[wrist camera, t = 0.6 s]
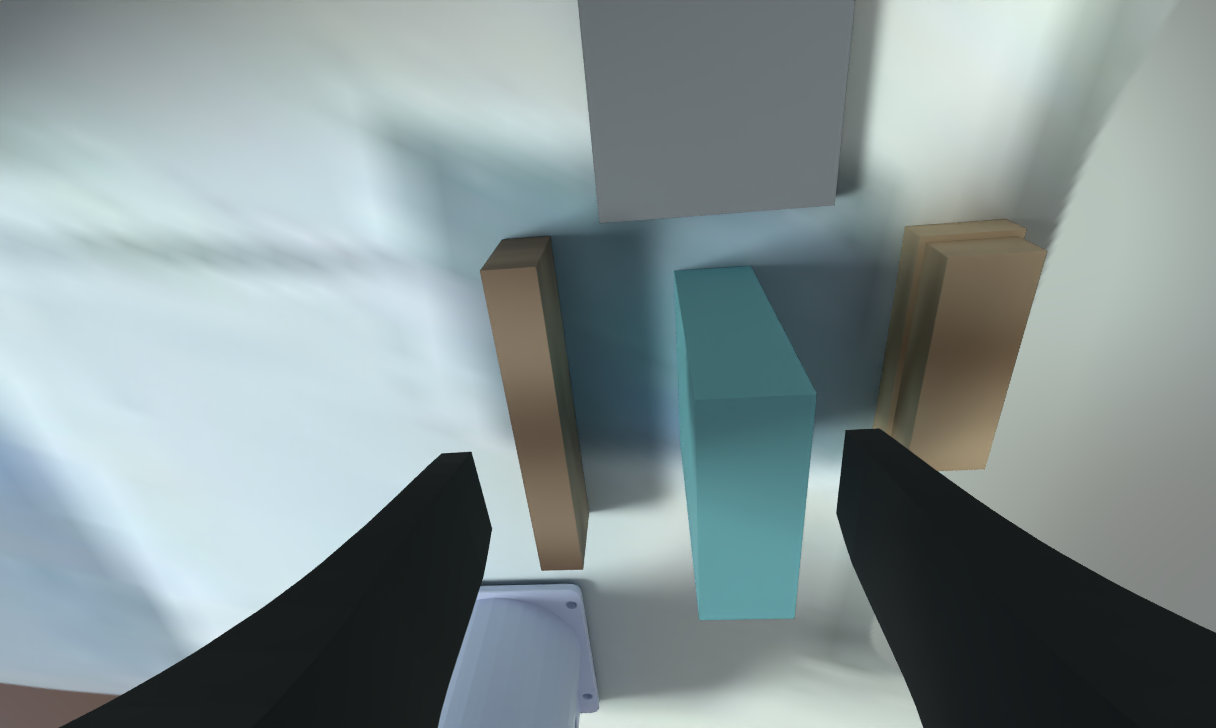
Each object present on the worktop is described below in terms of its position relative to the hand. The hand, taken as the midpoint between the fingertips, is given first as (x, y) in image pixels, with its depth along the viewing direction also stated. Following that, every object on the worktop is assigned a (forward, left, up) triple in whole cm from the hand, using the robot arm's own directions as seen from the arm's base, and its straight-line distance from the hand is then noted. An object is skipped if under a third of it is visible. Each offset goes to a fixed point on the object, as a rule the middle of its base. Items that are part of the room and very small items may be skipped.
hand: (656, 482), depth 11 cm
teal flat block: (-3, -2, -10) cm, 10 cm away
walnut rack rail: (-4, +4, -10) cm, 11 cm away
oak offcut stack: (-3, -10, -10) cm, 14 cm away
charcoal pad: (+7, -2, -9) cm, 12 cm away
